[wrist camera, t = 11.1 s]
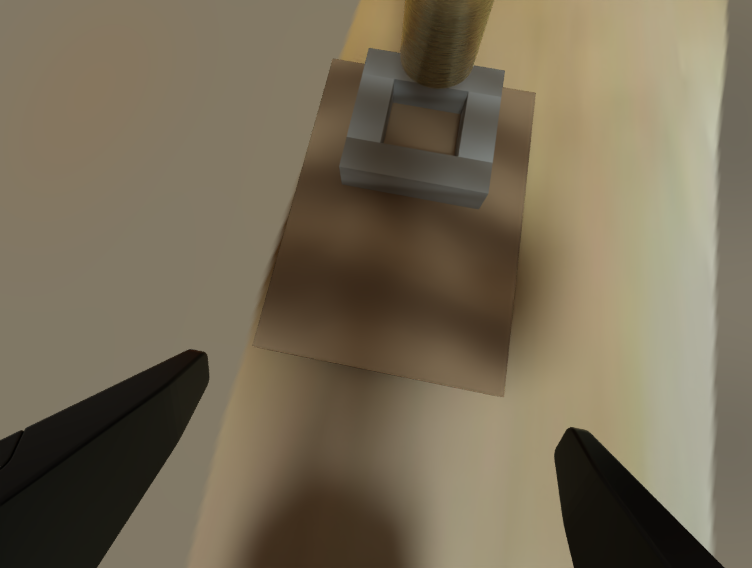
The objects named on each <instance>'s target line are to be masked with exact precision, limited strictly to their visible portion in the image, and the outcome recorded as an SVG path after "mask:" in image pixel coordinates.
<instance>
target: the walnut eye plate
mask: <svg viewBox="0 0 752 568" xmlns="http://www.w3.org/2000/svg"><path fill="white" fill-rule="evenodd" d="M504 73H505V71H504V70H498V69H492V68H486V67H480V66H474V65H473V68H472V71H471V72H470V74H469V75H468V77H467V78H466V79H465V80H464V81H462V82H461V83H459V84H457V85H455V86H452V87H448V88H441V89H436V88H429V87H425V86H423V85H420V84H418V83H416V82H415V81H413V80H412V79H411V78H410V77H409V76H408V75H407V74H406V73H405V71H404V69H403V67H402V65H401V60H400V53H397V52H391V51H385V50H379V49H373V48H369V50H368V54H367V58H366V62H365V64H362V63H356V62H350V61H345V60H339V59H333V60H332V63H331V67H330V70H329V74H328V78H327V81H326V85H325V88H324V92H323V95H322V99H321V103H320V106H319V110H318V113H317V117H316V120H315V124H314V127H313V131H312V135H311V138H310V142H309V145H308V149H307V152H306V156H305V160H304V163H303V167H302V170H301V174H300V177H299V181H298V185H297V188H296V192H295V195H294V199H293V202H292V206H291V210H290V213H289V217H288V220H287V224H286V227H285V231H284V235H283V238H282V242H281V245H280V249H279V252H278V256H277V260H276V263H275V267H274V270H273V274H272V277H271V281H270V285H269V288H268V292H267V295H266V299H265V302H264V306H263V310H262V313H261V317H260V320H259V324H258V327H257V331H256V335H255V338H254V342H253V345H252V346H254V347H258V348H262V349H267V350H272V351H277V352H282V353H287V354H292V355H297V356H302V357H307V358H312V359H317V360H322V361H326V362H331V363H336V364H341V365H346V366H351V367H356V368H361V369H366V370H371V371H376V372H381V373H386V374H391V375H396V376H400V377H405V378H410V379H415V380H420V381H425V382H430V383H435V384H440V385H445V386H450V387H455V388H460V389H465V390H469V391H474V392H479V393H484V394H489V395H494V396H500V397H504V391H505V381H506V372H507V362H508V353H509V343H510V334H511V324H512V315H513V305H514V295H515V286H516V276H517V267H518V257H519V248H520V238H521V229H522V219H523V210H524V200H525V190H526V181H527V171H528V162H529V152H530V143H531V133H532V124H533V114H534V105H535V95H536V93H534V92H528V91H522V90H516V89H510V88H504V87H503V81H504Z"/></svg>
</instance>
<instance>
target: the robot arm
mask: <svg viewBox="0 0 752 568" xmlns="http://www.w3.org/2000/svg"><path fill="white" fill-rule="evenodd" d="M208 382H209V366H208V356H207V354H206V353H205V352H202V351H198V350H193V349H189V350H187V351H185V352H182V353H180V354H178V355H176V356H174V357H172V358H170V359H168V360H166V361H164V362H161V363H160V364H157V365H155V366H153V367H151V368H149V369H147V370H145V371H143V372H141V373H139V374H137V375H134V376H132V377H130V378H128V379H126V380H124V381H122V382H120V383H118V384H116V385H114V386H112V387H110V388H108V389H105V390H104V391H101V392H99V393H97V394H96V395H93V396H91V397H89V398H87V399H85V400H83V401H81V402H79V403H77V404H74V405H72V406H70V407H68V408H66V409H64V410H62V411H60V412H58V413H56V414H54V415H52V416H50V417H48V418H45V419H43V420H41V421H39V422H37V423H35V424H33V425H31V426H29V427H27V428H25V430H24V431H23V430H21V431H18V432H16V433H14V434H12V435H10V436H8V437H6V438H4V439H2V440H0V568H97V567H98V565H99V564H100V562H101V561H102V559H103V558H104V556H105V554H106V553H107V551H108V550H109V548H110V547H111V545H112V544H113V542H114V541H115V539H116V537H117V536H118V534H119V533H120V531H121V530H122V528H123V527H124V525H125V524H126V522H127V521H128V519H129V517H130V516H131V514H132V513H133V511H134V510H135V508H136V507H137V505H138V504H139V502H140V500H141V499H142V497H143V496H144V494H145V493H146V491H147V490H148V488H149V487H150V485H151V483H152V482H153V480H154V479H155V477H156V476H157V474H158V473H159V471H160V470H161V468H162V467H163V465H164V464H165V462H166V460H167V459H168V457H169V456H170V454H171V453H172V451H173V449H174V448H175V446H176V445H177V443H178V441H179V440H180V438H181V436H182V434H183V432H184V430H185V428H186V426H187V424H188V423H189V420H190V419H191V417H192V415H193V413H194V411H195V409H196V407H197V405H198V403H199V401H200V399H201V397H202V395H203V393H204V391H205V389H206V387H207V385H208ZM554 459H555V467H556V474H557V481H558V489H559V496H560V503H561V511H562V517H563V523H564V528H565V532H566V537H567V541H568V545H569V549H570V553H571V557H572V562H573V566H574V568H724V567H723V566H722V565H721V564H720V563H719V562H718V561H717V560H716V559H715V558H714V557H713V556H712V555H711V554H710V553H709V552H708V551H707V550H706V549H705V548H704V547H703V546H702V545H701V544H700V543H699V542H698V541H697V540H696V539H695V538H694V537H693V536H692V535H691V534H690V533H689V532H688V531H687V530H686V529H685V528H684V527H683V526H682V525H681V524H680V523H679V522H678V521H677V519H676V518H675V517H674V516H673V515H672V514H671V513H670V512H669V511H668V510H667V509H666V508H665V507H664V506H663V505H662V504H661V503H660V502H659V501H658V500H657V499H656V498H655V497H654V496H653V495H652V494H651V493H650V492H649V491H648V490H647V489H646V488H645V487H644V486H643V485H642V484H641V483H640V482H639V481H638V480H637V479H636V478H635V477H634V476H633V475H632V474H631V473H630V472H629V471H628V470H627V469H626V468H625V467H624V466H623V465H622V464H621V463H620V462H619V461H618V460H617V459H616V458H615V457H614V456H613V455H612V454H611V453H610V452H609V451H608V450H607V449H606V448H605V447H604V446H603V445H602V444H601V443H600V442H599V441H598V440H597V439H596V438H595V437H594V436H593V435H592V434H591V433H590V432H588V431H587V430H584V429H579V428H574V427H570V428H568V429H567V430H566V431H565V433H564V435H563V437H562V438H561V440H560V442H559V444H558V445H557V447H556V449H555V454H554Z"/></svg>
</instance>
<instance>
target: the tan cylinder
mask: <svg viewBox="0 0 752 568" xmlns="http://www.w3.org/2000/svg"><path fill="white" fill-rule="evenodd" d="M493 2H494V0H405V6H404V18H403V30H402V41H401V53H400V60H401V65H402V67H403V69H404V71H405V73H406V74H407V75H408V76H409V77H410V78H411V79H412V80H413V81H415V82H416V83H418V84H420V85H423V86H425V87H429V88H436V89H441V88H448V87H452V86H455V85H457V84H459V83H461V82H462V81H464V80H465V79H466V78H467V77H468V75H469V74H470V72H471V71H472V68H473V65H474V62H475V59H476V56H477V53H478V49H479V46H480V43H481V40H482V37H483V34H484V31H485V27H486V24H487V21H488V18H489V15H490V12H491V8H492V5H493Z"/></svg>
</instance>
